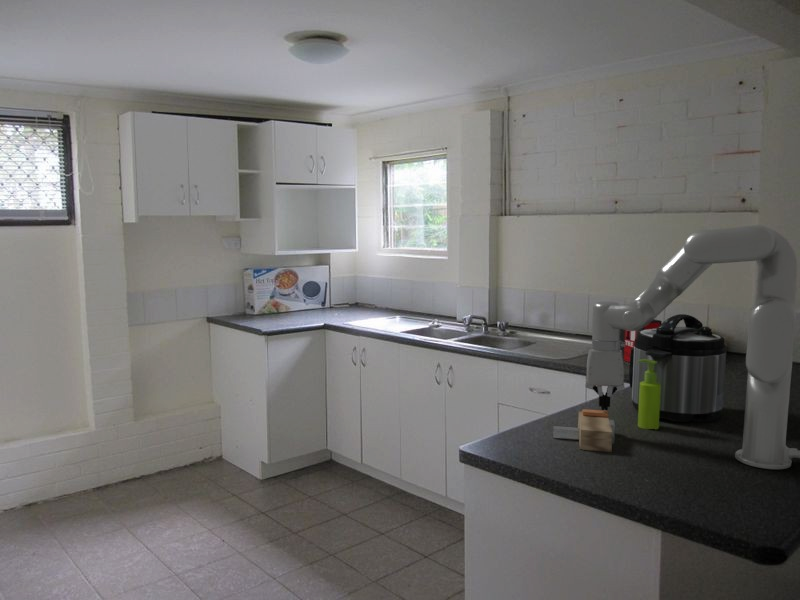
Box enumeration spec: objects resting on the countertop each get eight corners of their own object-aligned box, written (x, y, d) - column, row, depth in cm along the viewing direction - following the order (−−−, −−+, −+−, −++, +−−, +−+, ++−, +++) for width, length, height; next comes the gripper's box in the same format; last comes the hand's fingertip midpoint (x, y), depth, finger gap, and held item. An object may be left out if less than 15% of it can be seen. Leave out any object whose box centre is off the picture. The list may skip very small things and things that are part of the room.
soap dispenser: (638, 421, 203) (641, 357, 201) (661, 426, 199) (664, 360, 196) (631, 426, 199) (634, 360, 196) (654, 431, 194) (658, 363, 192)
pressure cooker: (691, 399, 230) (696, 308, 226) (746, 423, 202) (753, 320, 199) (610, 402, 225) (613, 309, 221) (655, 428, 197) (660, 322, 194)
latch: (607, 414, 191) (607, 410, 191) (608, 417, 189) (608, 413, 189) (582, 412, 193) (582, 409, 193) (582, 415, 190) (582, 411, 190)
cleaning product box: (659, 368, 279) (661, 320, 277) (641, 369, 277) (643, 321, 275) (634, 360, 295) (636, 315, 293) (617, 361, 292) (619, 316, 290)
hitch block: (606, 431, 194) (607, 413, 193) (611, 451, 176) (612, 432, 176) (577, 429, 195) (578, 411, 195) (580, 449, 178) (580, 429, 177)
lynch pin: (612, 437, 187) (613, 419, 187) (614, 443, 182) (614, 425, 182) (553, 433, 191) (553, 415, 190) (553, 439, 186) (553, 421, 185)
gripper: (632, 344, 190) (630, 407, 192) (578, 342, 193) (576, 404, 195) (635, 348, 183) (633, 414, 185) (578, 347, 186) (577, 411, 188)
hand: (604, 409), depth 190 cm, fingers closed
